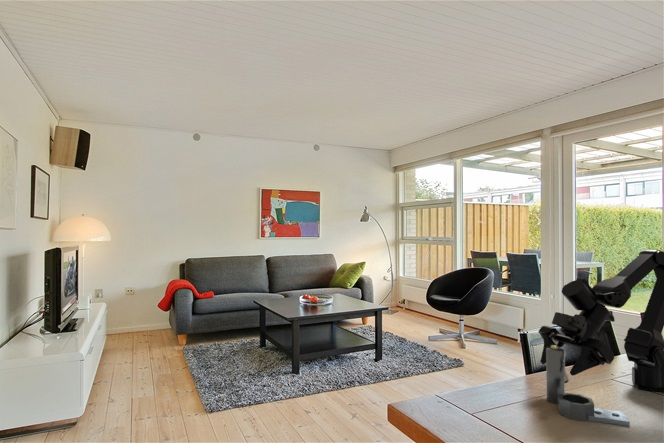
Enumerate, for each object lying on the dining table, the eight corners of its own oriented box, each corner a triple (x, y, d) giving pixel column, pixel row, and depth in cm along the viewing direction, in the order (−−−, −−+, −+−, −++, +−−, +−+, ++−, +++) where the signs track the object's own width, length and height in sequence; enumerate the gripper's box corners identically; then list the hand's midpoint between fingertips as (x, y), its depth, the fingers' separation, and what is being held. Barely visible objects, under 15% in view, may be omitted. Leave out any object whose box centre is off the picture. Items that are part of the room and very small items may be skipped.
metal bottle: (563, 399, 108) (562, 344, 108) (565, 404, 104) (564, 348, 105) (546, 396, 110) (545, 343, 110) (547, 402, 106) (546, 347, 106)
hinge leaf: (622, 414, 99) (621, 399, 99) (630, 427, 92) (630, 411, 92) (557, 405, 104) (556, 391, 104) (560, 417, 97) (560, 402, 97)
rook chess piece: (571, 382, 120) (570, 354, 120) (554, 381, 121) (553, 353, 121) (565, 377, 124) (565, 349, 125) (549, 376, 125) (549, 349, 125)
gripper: (543, 296, 118) (511, 338, 115) (604, 307, 100) (569, 358, 97) (565, 323, 120) (534, 365, 117) (629, 338, 103) (595, 389, 99)
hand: (555, 368), depth 107 cm, fingers open, 9 cm apart
